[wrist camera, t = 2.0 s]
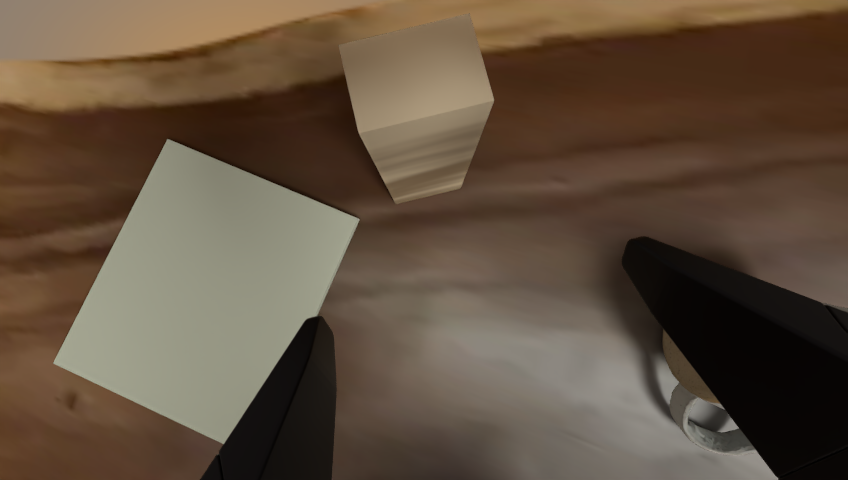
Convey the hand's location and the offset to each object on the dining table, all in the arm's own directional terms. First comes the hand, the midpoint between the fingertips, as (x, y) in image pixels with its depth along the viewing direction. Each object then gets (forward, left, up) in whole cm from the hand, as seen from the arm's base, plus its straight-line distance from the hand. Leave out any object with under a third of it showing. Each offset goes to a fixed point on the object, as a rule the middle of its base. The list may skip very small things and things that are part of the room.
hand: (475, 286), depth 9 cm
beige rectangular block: (+6, +5, -13) cm, 16 cm away
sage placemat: (-8, +16, -13) cm, 22 cm away
